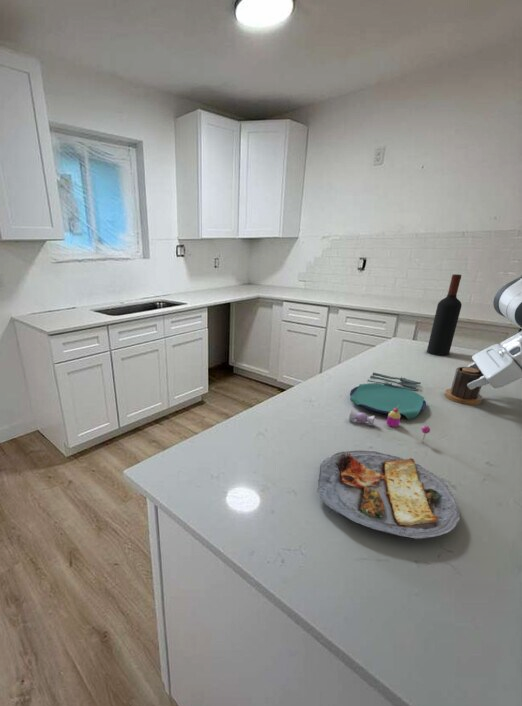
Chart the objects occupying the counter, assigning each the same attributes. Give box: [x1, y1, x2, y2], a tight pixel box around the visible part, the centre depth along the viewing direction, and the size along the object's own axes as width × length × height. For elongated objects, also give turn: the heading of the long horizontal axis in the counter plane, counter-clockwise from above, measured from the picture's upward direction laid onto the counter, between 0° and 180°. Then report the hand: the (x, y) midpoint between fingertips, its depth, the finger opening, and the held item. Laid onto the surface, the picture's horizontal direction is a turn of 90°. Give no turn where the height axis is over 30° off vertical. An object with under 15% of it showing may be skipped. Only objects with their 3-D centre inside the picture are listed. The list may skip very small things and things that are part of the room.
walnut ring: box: [450, 366, 483, 399], centre depth 105 cm, size 7×7×8 cm
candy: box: [348, 405, 431, 444], centre depth 92 cm, size 18×8×6 cm, turn 57°
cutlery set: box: [349, 372, 427, 420], centre depth 109 cm, size 20×30×2 cm, turn 143°
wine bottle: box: [426, 273, 463, 357], centre depth 138 cm, size 8×8×30 cm
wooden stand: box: [444, 366, 483, 406], centre depth 105 cm, size 9×9×9 cm
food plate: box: [316, 450, 461, 540], centre depth 69 cm, size 25×23×4 cm
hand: (464, 380), depth 105 cm, fingers open, 8 cm apart
